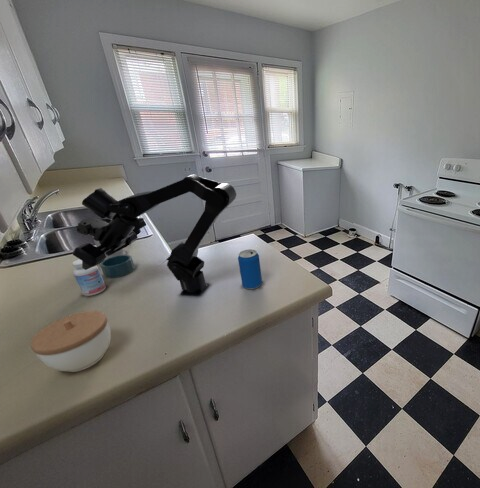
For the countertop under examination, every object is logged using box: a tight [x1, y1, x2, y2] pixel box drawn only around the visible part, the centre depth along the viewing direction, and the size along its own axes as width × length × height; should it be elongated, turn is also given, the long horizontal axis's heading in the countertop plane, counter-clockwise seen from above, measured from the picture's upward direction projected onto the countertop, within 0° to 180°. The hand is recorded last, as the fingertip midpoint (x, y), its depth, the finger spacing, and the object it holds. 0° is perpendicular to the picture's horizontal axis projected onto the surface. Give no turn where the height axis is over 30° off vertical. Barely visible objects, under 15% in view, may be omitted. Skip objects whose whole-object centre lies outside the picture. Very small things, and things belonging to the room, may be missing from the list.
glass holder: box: [92, 218, 127, 261], centre depth 108 cm, size 9×14×15 cm, turn 43°
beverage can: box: [237, 248, 263, 290], centre depth 88 cm, size 6×6×12 cm
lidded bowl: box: [29, 310, 112, 373], centre depth 61 cm, size 13×13×11 cm
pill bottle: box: [72, 258, 107, 297], centre depth 86 cm, size 6×6×11 cm
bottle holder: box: [99, 254, 136, 279], centre depth 100 cm, size 9×9×4 cm
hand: (96, 261), depth 84 cm, fingers open, 9 cm apart
